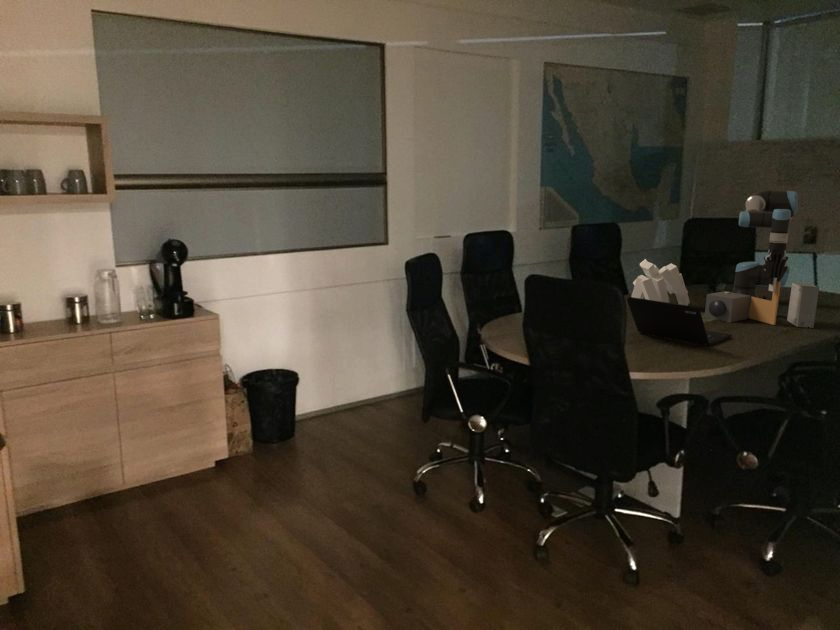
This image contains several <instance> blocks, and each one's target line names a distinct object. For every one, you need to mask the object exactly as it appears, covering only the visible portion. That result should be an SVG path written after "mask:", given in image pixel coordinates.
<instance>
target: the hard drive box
mask: <svg viewBox="0 0 840 630" xmlns="http://www.w3.org/2000/svg"><path fill="white" fill-rule="evenodd" d="M819 292H820V287H819V286H816V285H815V284H811V283H809V282H796V281H794V282H792V283H791V288H790V294H789V295H790V296H789V303H788V311H787V320H786V321H787V322H789V323H790V324H792V325H793V326H794V327H796V328H808V327H809V329H813V328H815V319H816V318H815V317H816V314H817V306H818V298H819Z"/></svg>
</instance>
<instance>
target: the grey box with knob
mask: <svg viewBox="0 0 840 630" xmlns="http://www.w3.org/2000/svg"><path fill="white" fill-rule="evenodd" d="M705 298H706V299H705V307H704V309H705V310H704V318H705V317H709V318H708V319H710V318H713V319H712V320H715V319H716V321H720V320H721V321H722V322H725V321H726V322H727V323H734V322H738V321H739V320H740V321H743V320H748V319H749V310H750V305H749V304H750V295H744V294H738V293H732V291H731V292H730V291H725V290H724V291H720V292H714V293H713V292H711V293H706V297H705ZM721 321H720V322H721ZM740 321H739V322H740Z"/></svg>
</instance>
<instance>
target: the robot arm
mask: <svg viewBox="0 0 840 630" xmlns="http://www.w3.org/2000/svg"><path fill="white" fill-rule="evenodd" d="M798 202H799V201H798V192H797V191H792V190H769V189H768V190H765V189H764V190H760V191H757V192H754V193H752V194H751V195H749V197H747V199H746V201H745V205H744V206H745V210H744V211H740V212H739V216H738V217H739V218H738V226H739V227H743V228H764V229H765V228H766V229H770V232H769V233H770V234H769V242H768V251H767V255H766V256H763V260H764V262H763V264H761V263H760V262H759V261H743V262H739V263H738V264H736V267H735V271H734V272H735V276H734V283H733V289H732V291H731V293H738V294H744V295H750V302H751V297H756V298H759V296H758V291H757V286H759V287H760V286H761V287H762V286H763V287H768V291H769V292H773V291H775V289H776V284H777V282H781V285H780V288H784V287H785V286H786V284H787V281H788V279H789V274H790V271H791V269H790V266H788V262H787V261H788V259H789V256H786V254H787V248H788V247H787V246H788V238H789V231H790V225H791V220H792V219H793V218H794V217H795V215H796V214H798V213H799V211H798V208H799V207H798V206H799V205H798ZM749 306H750V304H749Z"/></svg>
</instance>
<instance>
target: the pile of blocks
mask: <svg viewBox="0 0 840 630" xmlns="http://www.w3.org/2000/svg"><path fill="white" fill-rule="evenodd" d="M639 267H640V268H641V269H642V271H643V273H644V275H643V274H640V275H638V276H637V278H635V279H634V281H633V282H632V284H633V285H634V287H633V290H632V293H631V296H630V297H633V298H640V299H647V300H654V301H660V302H667V303H671V301H670V297H669V295H672V294H675V297H676V300H677V304H681V305H687V306H689V304H690V303H691V302H690V297H689V295H688V293H689V291H688V290H687V287H686V284H685V281H684V278H683V275H682V274H683V273H680V272H679V268H678V266H677V265H675V264H673V263H669V264H667V265H666V266H665V265H664V266H663V267H662V268H659V267H658V266H657V265H656V264H654V263H652V262H649V261H648V259H646V258H644V259H643V260H642V261H641V262H640V263H639ZM668 293H669V294H668Z"/></svg>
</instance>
